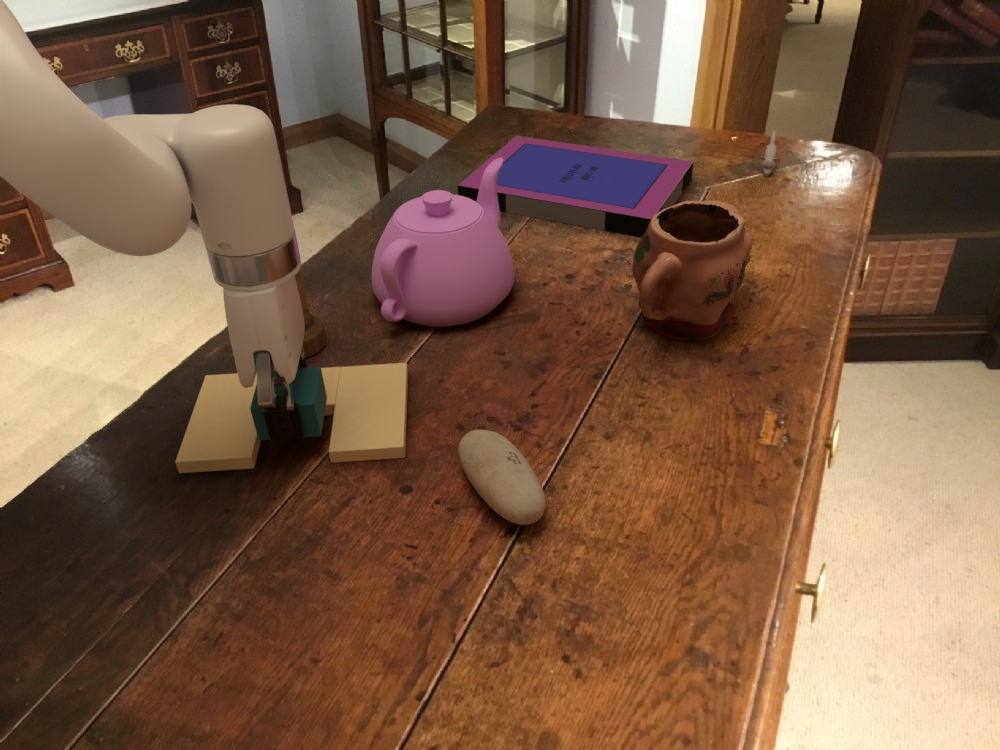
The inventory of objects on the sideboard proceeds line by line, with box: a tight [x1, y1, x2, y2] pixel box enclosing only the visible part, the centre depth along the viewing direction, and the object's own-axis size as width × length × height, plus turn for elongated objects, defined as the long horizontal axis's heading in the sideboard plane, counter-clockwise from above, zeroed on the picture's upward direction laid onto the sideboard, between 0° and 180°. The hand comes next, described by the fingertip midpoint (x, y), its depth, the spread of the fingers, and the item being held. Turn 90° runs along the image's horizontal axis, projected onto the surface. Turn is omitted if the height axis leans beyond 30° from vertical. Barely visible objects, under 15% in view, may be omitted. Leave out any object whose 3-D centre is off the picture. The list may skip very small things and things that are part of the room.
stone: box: [458, 429, 547, 526], centre depth 78 cm, size 6×6×12 cm
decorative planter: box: [632, 200, 753, 342], centre depth 96 cm, size 20×12×14 cm, turn 147°
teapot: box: [371, 158, 516, 328], centre depth 104 cm, size 25×18×14 cm
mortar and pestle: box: [295, 269, 327, 361], centre depth 94 cm, size 7×6×18 cm
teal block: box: [250, 366, 327, 441], centre depth 83 cm, size 6×6×4 cm
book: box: [457, 135, 694, 238], centre depth 130 cm, size 21×3×30 cm
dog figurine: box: [758, 130, 781, 178], centre depth 134 cm, size 3×8×6 cm
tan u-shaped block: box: [174, 362, 409, 474], centre depth 88 cm, size 22×14×2 cm, turn 94°
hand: (292, 414), depth 84 cm, fingers closed on teal block, 6 cm apart
